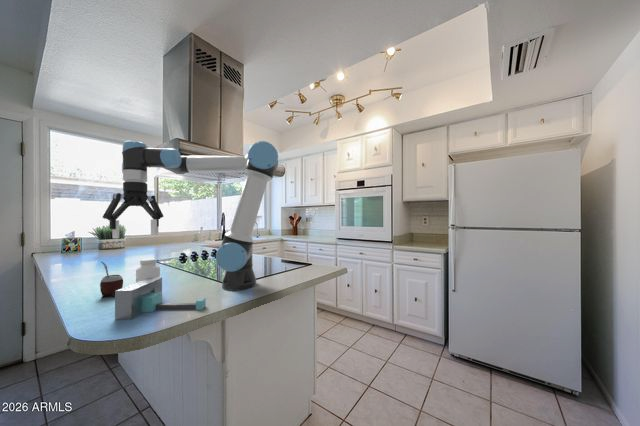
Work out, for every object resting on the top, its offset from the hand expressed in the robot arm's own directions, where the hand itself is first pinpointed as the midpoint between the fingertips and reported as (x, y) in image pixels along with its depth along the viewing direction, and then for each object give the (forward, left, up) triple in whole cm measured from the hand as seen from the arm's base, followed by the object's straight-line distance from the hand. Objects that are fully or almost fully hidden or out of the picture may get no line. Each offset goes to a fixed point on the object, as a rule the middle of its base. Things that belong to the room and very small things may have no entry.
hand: (136, 236), depth 93 cm
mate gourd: (+13, -5, -25) cm, 28 cm away
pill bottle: (-2, -4, -25) cm, 25 cm away
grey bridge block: (-8, +10, -25) cm, 28 cm away
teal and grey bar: (-19, +10, -25) cm, 33 cm away
